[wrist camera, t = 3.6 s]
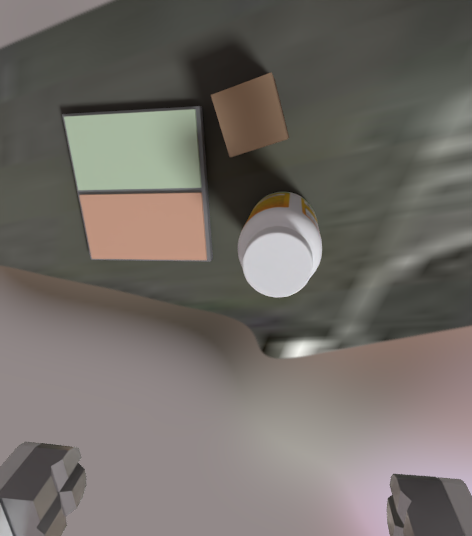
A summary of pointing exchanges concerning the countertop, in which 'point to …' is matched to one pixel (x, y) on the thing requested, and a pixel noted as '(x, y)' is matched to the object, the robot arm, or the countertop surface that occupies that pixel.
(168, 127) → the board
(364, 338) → the countertop surface
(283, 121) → the walnut block
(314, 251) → the supplement bottle
